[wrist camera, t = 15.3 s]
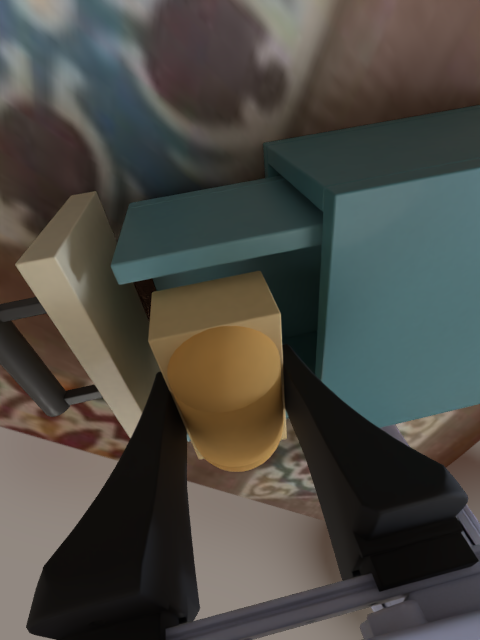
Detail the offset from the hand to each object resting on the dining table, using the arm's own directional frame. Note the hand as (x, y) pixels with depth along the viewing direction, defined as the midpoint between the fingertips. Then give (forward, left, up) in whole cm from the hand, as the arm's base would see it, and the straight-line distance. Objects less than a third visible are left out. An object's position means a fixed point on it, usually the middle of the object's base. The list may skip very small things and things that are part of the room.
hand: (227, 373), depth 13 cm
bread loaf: (0, 0, -1) cm, 1 cm away
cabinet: (0, -12, -8) cm, 14 cm away
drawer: (0, +1, -7) cm, 7 cm away
